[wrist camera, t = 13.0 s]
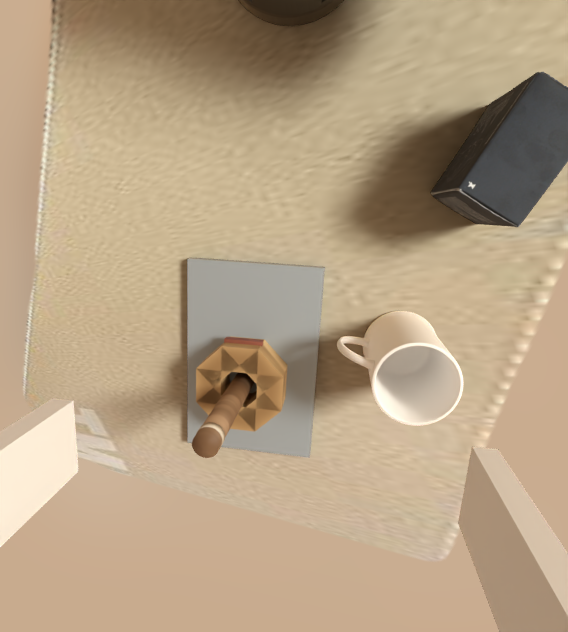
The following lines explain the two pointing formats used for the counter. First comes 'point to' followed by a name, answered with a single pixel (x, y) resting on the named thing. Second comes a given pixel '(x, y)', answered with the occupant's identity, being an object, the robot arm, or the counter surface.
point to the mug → (408, 368)
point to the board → (259, 323)
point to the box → (510, 155)
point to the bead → (258, 365)
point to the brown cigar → (222, 417)
